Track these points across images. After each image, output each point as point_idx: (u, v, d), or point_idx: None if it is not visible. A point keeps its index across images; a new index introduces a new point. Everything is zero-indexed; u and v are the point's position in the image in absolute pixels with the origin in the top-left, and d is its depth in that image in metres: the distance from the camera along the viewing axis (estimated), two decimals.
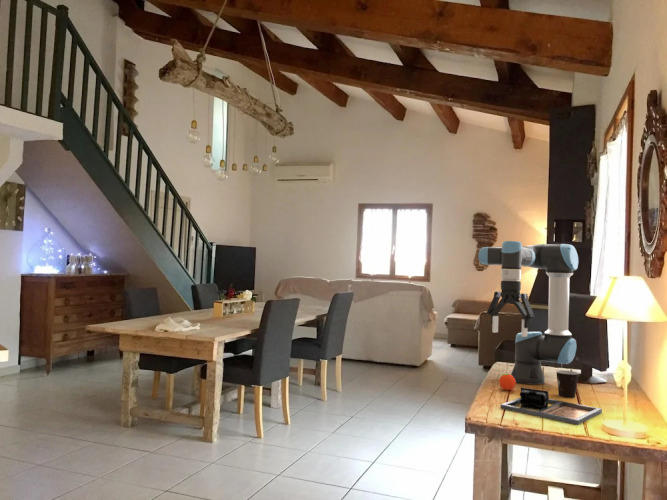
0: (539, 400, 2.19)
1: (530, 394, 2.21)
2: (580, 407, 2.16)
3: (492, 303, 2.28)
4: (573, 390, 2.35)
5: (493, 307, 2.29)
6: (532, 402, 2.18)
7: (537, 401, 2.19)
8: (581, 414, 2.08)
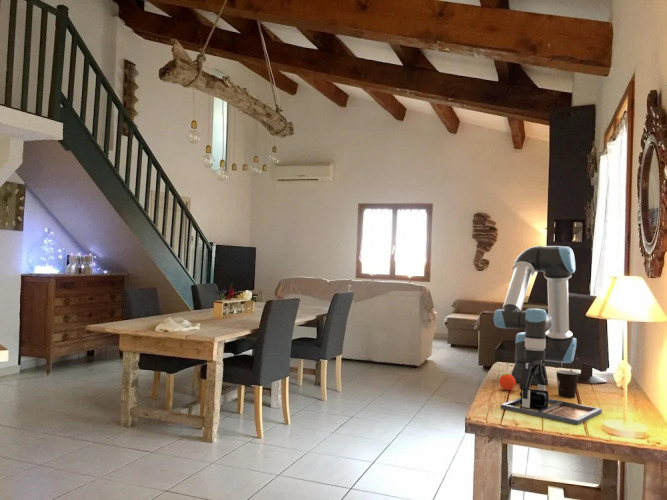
0: (539, 400, 2.19)
1: (530, 394, 2.21)
2: (580, 407, 2.16)
3: None
4: (573, 390, 2.35)
5: None
6: (532, 402, 2.18)
7: (537, 401, 2.19)
8: (581, 414, 2.08)
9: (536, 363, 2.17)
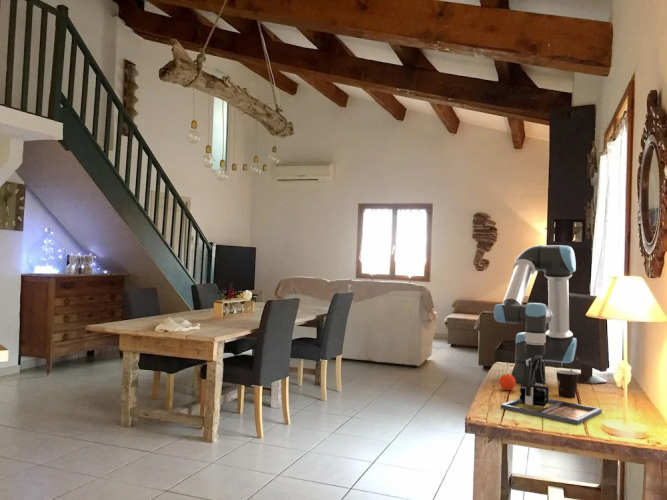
0: (539, 396, 2.19)
1: None
2: (580, 407, 2.16)
3: None
4: (573, 390, 2.35)
5: None
6: None
7: (537, 397, 2.19)
8: (581, 414, 2.08)
9: (536, 357, 2.17)
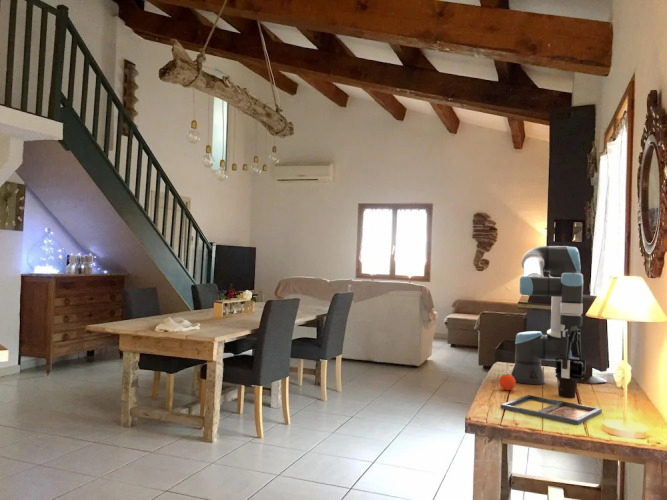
0: (575, 370, 2.10)
1: None
2: (580, 407, 2.16)
3: None
4: (573, 390, 2.35)
5: None
6: None
7: (573, 371, 2.10)
8: (581, 414, 2.08)
9: (573, 329, 2.08)
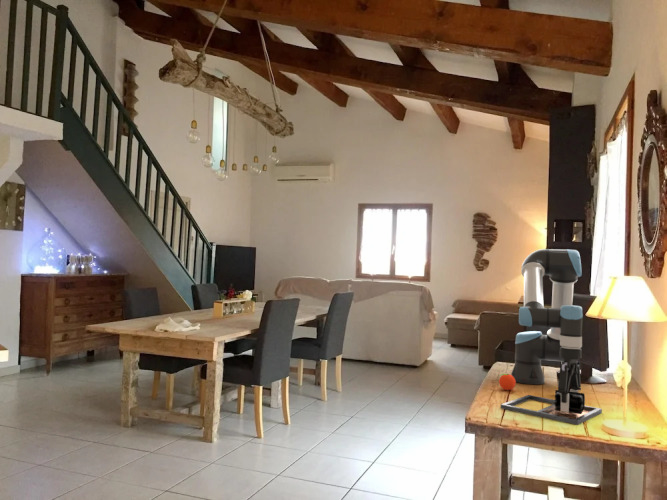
0: (575, 403, 2.10)
1: None
2: None
3: None
4: None
5: None
6: None
7: (573, 404, 2.09)
8: (581, 414, 2.08)
9: (572, 362, 2.08)
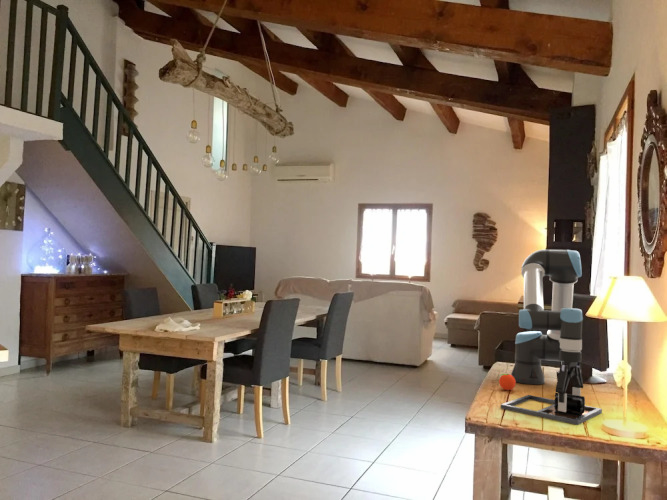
0: (575, 406, 2.10)
1: None
2: None
3: None
4: None
5: None
6: (567, 408, 2.09)
7: (572, 407, 2.10)
8: None
9: (572, 365, 2.08)
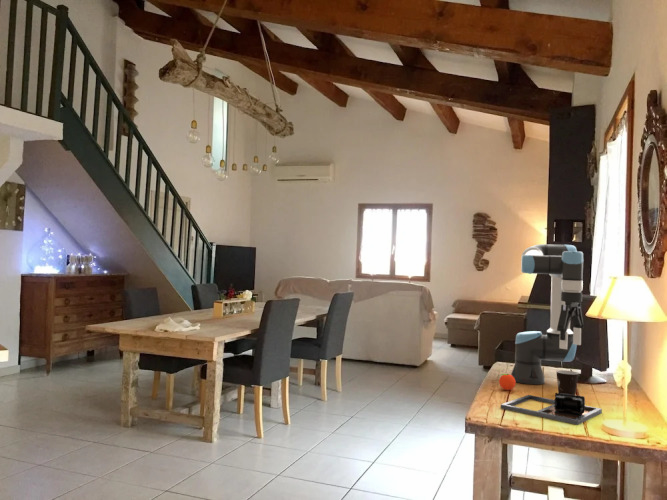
0: (575, 406, 2.10)
1: (565, 399, 2.12)
2: None
3: None
4: (573, 390, 2.35)
5: None
6: (567, 408, 2.09)
7: (572, 407, 2.10)
8: None
9: (573, 305, 2.16)
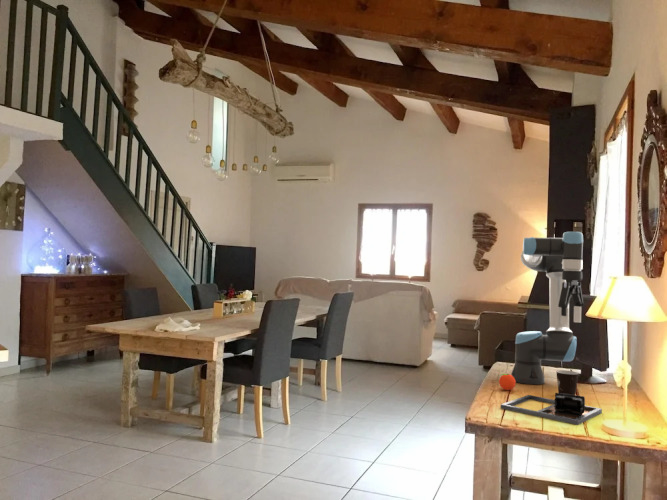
0: (575, 406, 2.10)
1: (565, 399, 2.12)
2: None
3: None
4: (573, 390, 2.35)
5: None
6: (567, 408, 2.09)
7: (572, 407, 2.10)
8: None
9: (573, 283, 2.26)
